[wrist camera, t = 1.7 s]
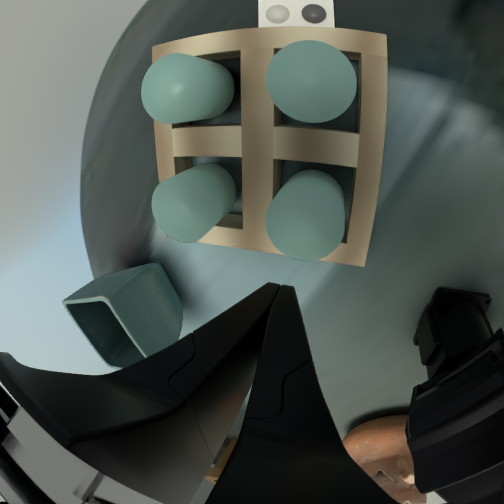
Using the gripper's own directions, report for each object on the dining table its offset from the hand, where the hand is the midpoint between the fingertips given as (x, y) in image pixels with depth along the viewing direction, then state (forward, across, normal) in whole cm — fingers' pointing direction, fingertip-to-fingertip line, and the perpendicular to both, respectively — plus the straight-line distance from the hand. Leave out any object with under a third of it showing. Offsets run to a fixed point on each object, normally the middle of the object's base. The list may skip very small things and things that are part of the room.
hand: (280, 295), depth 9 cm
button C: (+10, +7, 0) cm, 12 cm away
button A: (+10, 0, 0) cm, 10 cm away
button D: (+10, +7, -7) cm, 14 cm away
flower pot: (+12, +16, +12) cm, 23 cm away
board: (+12, +4, -4) cm, 13 cm away
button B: (+10, 0, -7) cm, 12 cm away
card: (+12, +2, -14) cm, 18 cm away
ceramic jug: (+12, -16, +32) cm, 38 cm away
